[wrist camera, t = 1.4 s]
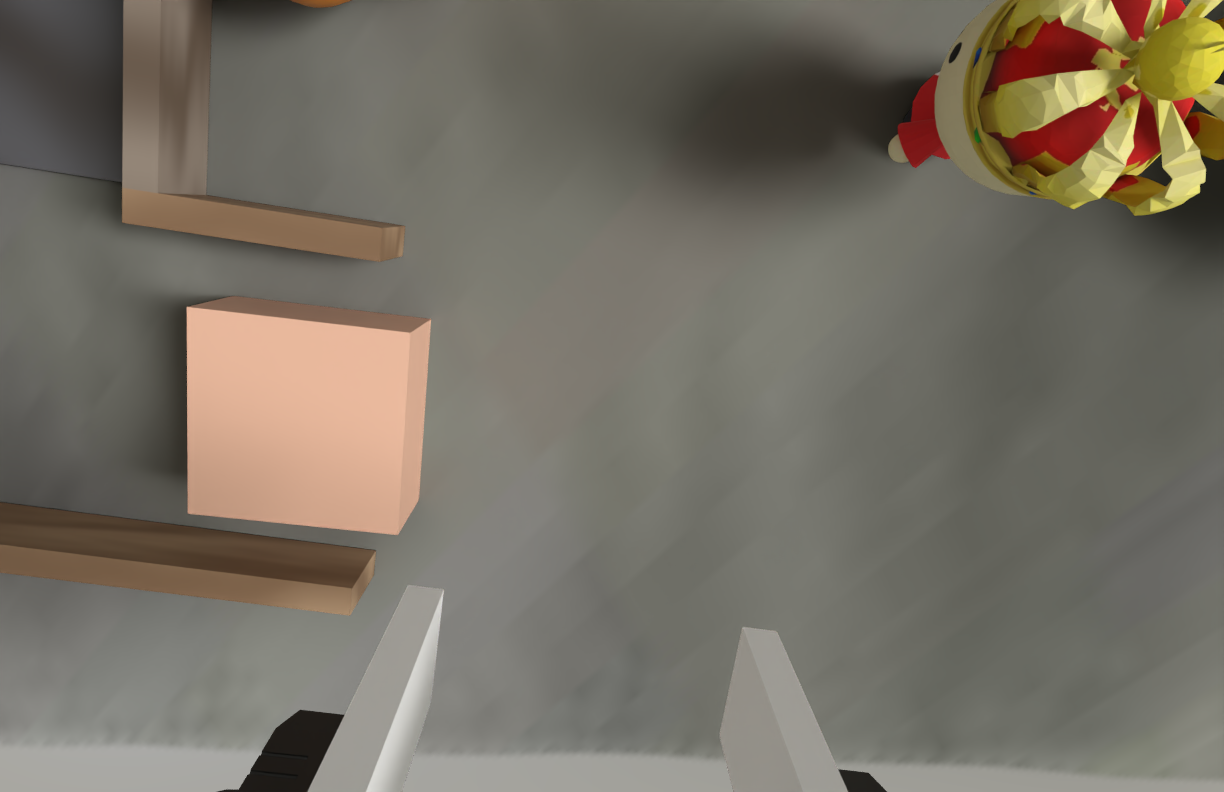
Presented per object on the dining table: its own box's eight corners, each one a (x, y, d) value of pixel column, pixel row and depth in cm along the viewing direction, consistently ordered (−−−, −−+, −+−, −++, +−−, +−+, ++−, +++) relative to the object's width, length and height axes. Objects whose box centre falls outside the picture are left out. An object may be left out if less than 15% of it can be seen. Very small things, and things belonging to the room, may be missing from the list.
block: (236, 295, 31) (186, 306, 28) (432, 317, 32) (410, 332, 28) (234, 478, 33) (187, 513, 29) (419, 497, 34) (397, 535, 30)
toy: (981, -19, 29) (1372, -246, 15) (1062, 147, 31) (1490, 90, 16) (819, 92, 30) (1037, -20, 15) (906, 248, 31) (1180, 280, 17)
